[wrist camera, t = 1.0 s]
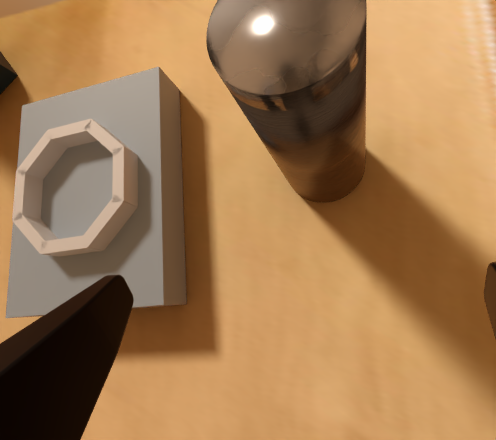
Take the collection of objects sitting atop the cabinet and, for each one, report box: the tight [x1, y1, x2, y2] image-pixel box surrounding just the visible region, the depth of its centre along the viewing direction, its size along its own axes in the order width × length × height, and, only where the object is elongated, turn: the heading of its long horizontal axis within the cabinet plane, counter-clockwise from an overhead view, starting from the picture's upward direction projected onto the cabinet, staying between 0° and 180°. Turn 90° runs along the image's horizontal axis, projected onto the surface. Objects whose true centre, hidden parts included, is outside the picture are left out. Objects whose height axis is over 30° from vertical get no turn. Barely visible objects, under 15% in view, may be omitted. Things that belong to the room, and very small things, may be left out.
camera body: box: [6, 67, 187, 318], centre depth 26 cm, size 16×12×4 cm
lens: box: [207, 0, 366, 202], centre depth 17 cm, size 5×5×13 cm
